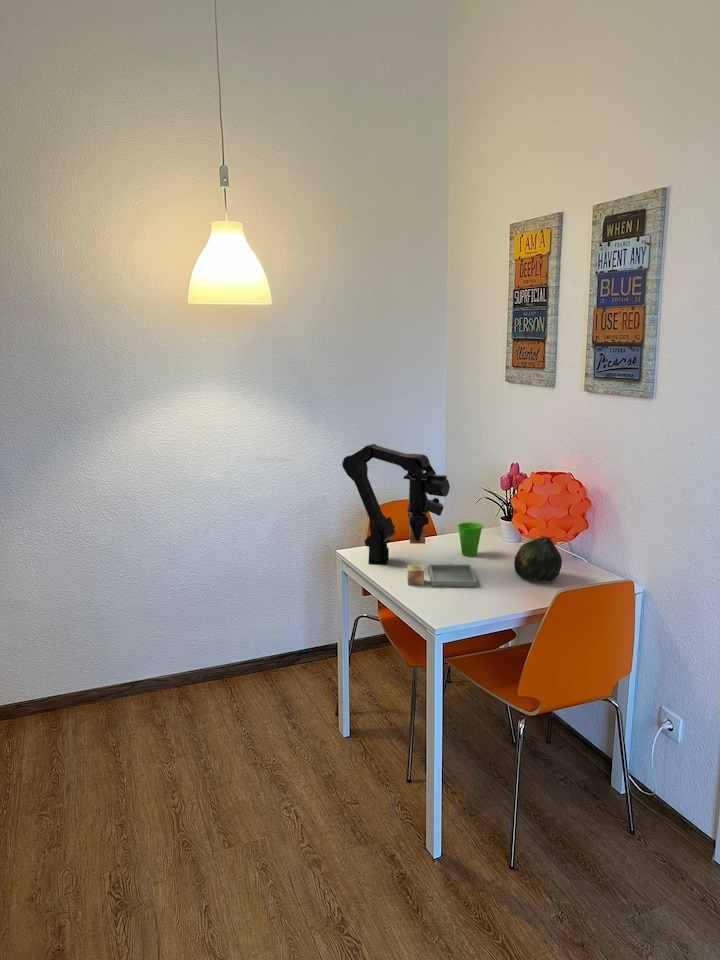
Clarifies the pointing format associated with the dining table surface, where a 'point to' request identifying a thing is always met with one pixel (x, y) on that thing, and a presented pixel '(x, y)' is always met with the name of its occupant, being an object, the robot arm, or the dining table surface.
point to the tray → (452, 576)
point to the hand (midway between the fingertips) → (417, 538)
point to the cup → (469, 537)
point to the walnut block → (422, 537)
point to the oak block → (416, 575)
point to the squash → (538, 560)
